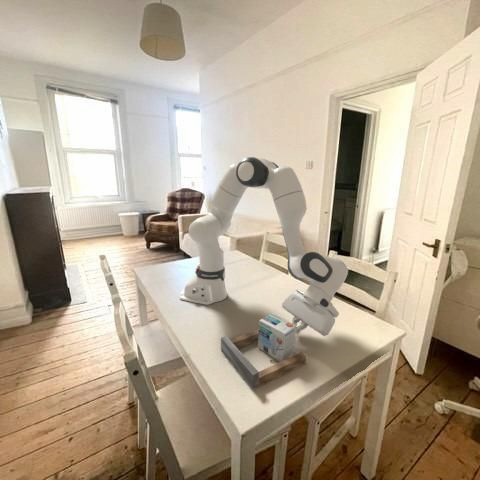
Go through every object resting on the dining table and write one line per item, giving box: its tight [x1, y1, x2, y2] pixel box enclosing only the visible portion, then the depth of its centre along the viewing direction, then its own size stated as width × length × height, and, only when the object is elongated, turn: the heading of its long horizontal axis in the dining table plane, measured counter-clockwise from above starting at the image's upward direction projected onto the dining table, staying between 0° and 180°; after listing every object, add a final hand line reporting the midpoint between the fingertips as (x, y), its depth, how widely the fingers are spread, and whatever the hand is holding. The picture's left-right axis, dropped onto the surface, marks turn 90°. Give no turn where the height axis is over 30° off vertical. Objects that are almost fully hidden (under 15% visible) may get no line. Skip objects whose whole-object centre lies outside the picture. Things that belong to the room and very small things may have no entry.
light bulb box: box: [257, 312, 297, 362], centre depth 88 cm, size 11×7×11 cm, turn 45°
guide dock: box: [220, 328, 307, 391], centre depth 86 cm, size 20×19×5 cm
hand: (293, 331), depth 92 cm, fingers closed
